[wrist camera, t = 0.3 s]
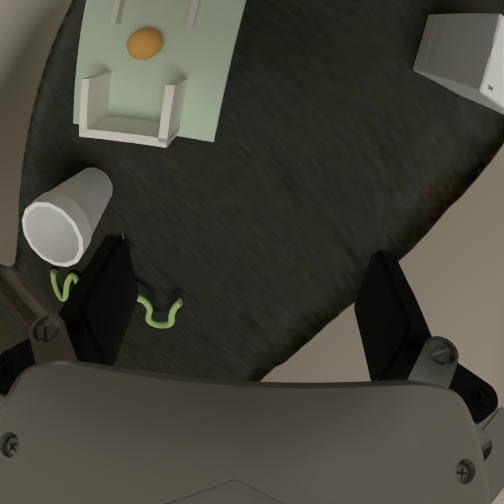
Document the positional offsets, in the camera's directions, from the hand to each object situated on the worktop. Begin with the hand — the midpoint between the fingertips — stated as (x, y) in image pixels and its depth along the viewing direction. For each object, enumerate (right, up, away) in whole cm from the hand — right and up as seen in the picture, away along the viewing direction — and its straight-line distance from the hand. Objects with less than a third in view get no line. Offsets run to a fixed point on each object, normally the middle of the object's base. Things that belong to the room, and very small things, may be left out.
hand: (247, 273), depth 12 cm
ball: (-12, +24, +16) cm, 31 cm away
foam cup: (-23, +11, +31) cm, 40 cm away
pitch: (-12, +25, +19) cm, 34 cm away
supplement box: (+25, +26, +17) cm, 40 cm away
